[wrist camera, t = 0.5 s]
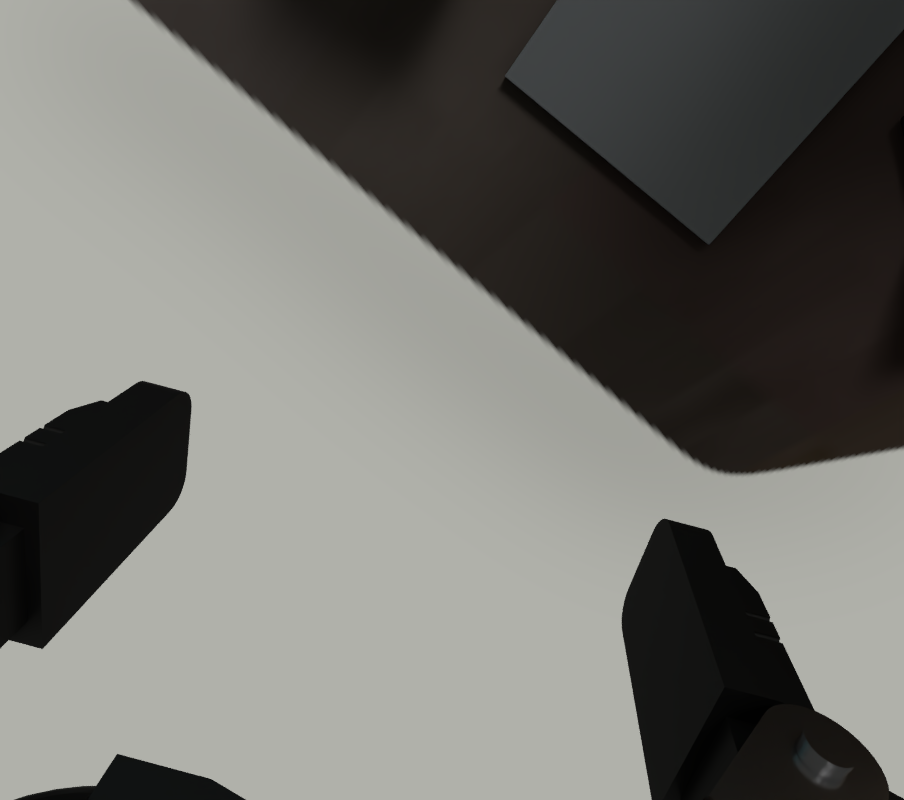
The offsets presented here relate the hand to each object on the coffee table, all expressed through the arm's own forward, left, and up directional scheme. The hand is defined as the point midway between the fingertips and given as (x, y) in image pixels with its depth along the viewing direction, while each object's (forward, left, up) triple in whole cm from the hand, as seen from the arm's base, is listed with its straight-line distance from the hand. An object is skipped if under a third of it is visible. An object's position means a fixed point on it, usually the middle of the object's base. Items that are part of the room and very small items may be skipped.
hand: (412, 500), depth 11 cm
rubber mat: (-14, +2, -26) cm, 30 cm away
